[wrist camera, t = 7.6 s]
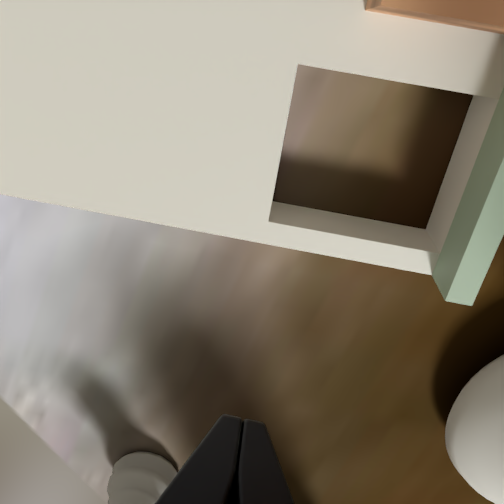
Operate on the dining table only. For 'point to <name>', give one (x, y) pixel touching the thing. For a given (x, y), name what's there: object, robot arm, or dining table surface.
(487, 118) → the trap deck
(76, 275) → the dining table surface
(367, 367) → the dining table surface
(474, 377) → the flower in vase
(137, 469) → the rook chess piece
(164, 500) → the robot arm
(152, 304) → the dining table surface
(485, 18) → the block
